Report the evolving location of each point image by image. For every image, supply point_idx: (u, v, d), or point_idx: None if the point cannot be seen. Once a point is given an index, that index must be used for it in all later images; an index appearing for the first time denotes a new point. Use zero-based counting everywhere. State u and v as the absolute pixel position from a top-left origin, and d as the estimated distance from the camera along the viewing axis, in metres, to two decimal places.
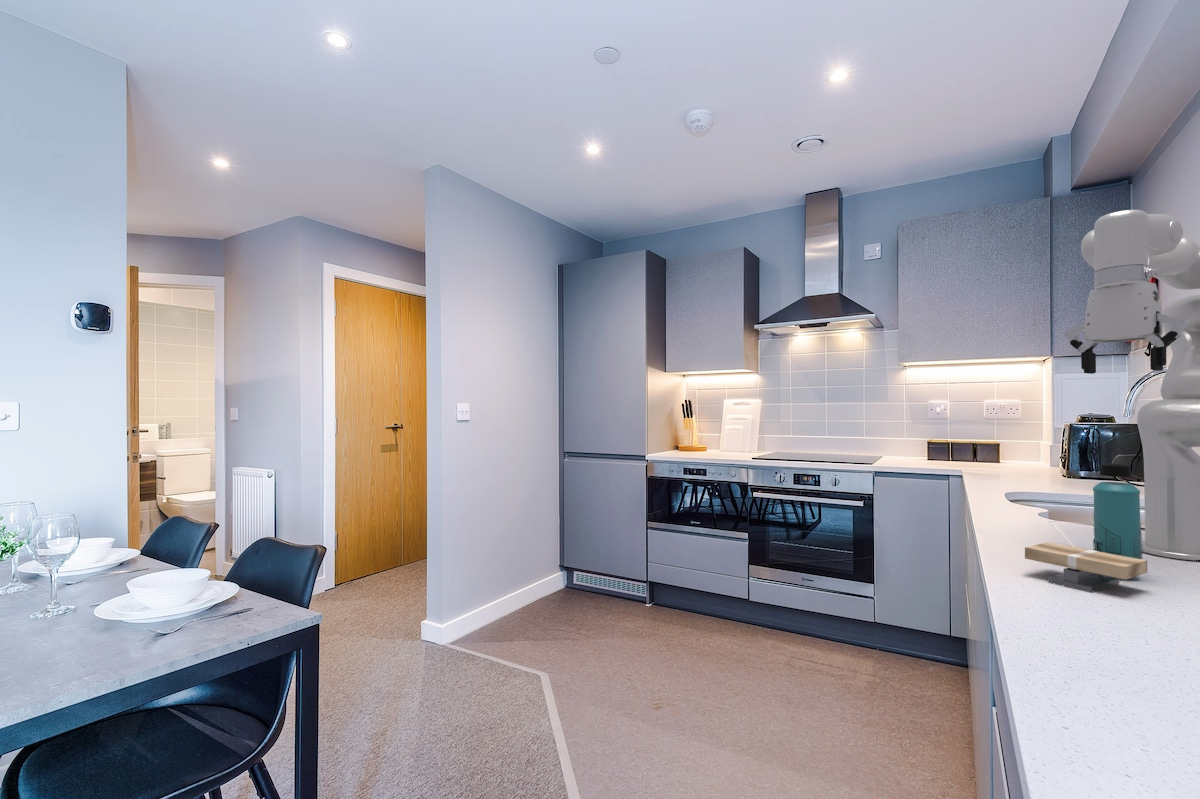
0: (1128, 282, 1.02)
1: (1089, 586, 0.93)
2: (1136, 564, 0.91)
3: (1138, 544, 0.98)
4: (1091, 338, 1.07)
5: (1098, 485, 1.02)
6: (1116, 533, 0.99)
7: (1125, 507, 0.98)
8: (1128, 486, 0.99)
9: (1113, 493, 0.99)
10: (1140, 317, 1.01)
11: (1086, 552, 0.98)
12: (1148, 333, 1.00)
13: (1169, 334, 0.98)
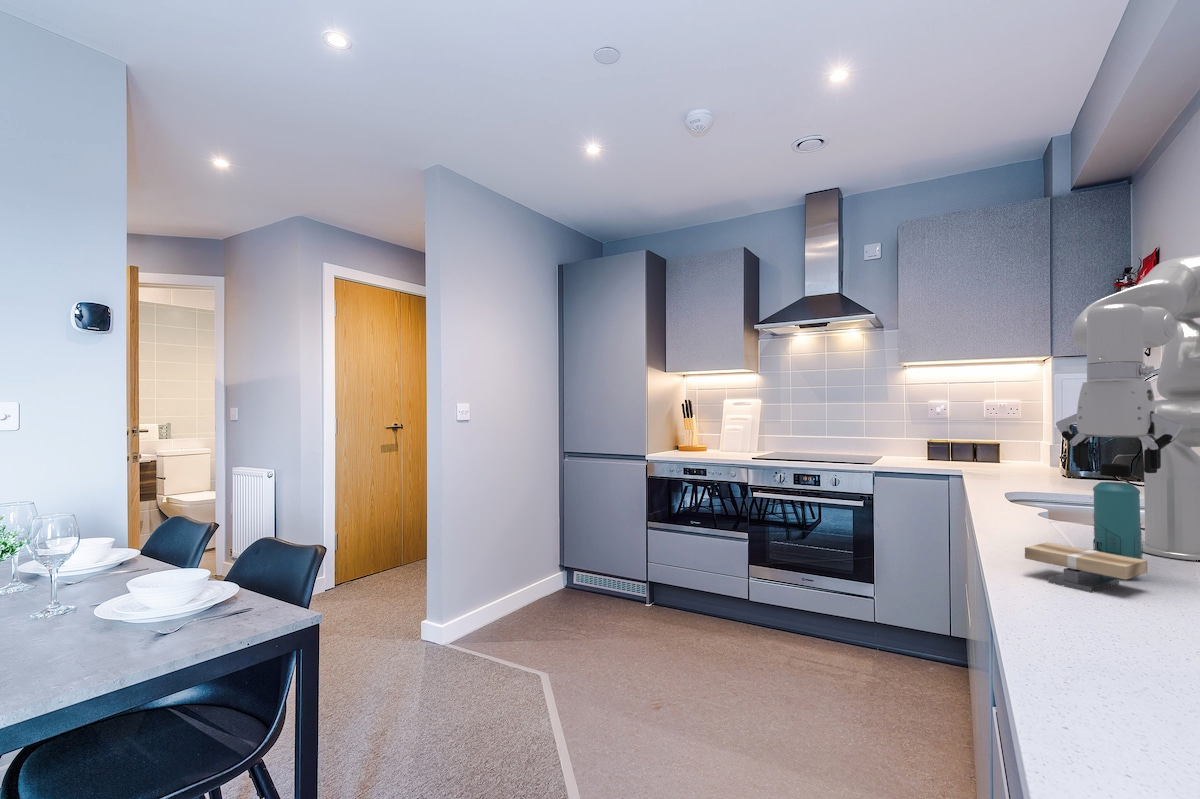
0: (1121, 379, 0.98)
1: (1089, 586, 0.93)
2: (1136, 564, 0.91)
3: (1138, 544, 0.98)
4: (1083, 432, 1.03)
5: (1098, 485, 1.02)
6: (1116, 533, 0.99)
7: (1125, 507, 0.98)
8: (1128, 486, 0.99)
9: (1113, 493, 0.99)
10: (1134, 417, 0.97)
11: (1086, 552, 0.98)
12: (1142, 434, 0.96)
13: (1164, 437, 0.95)
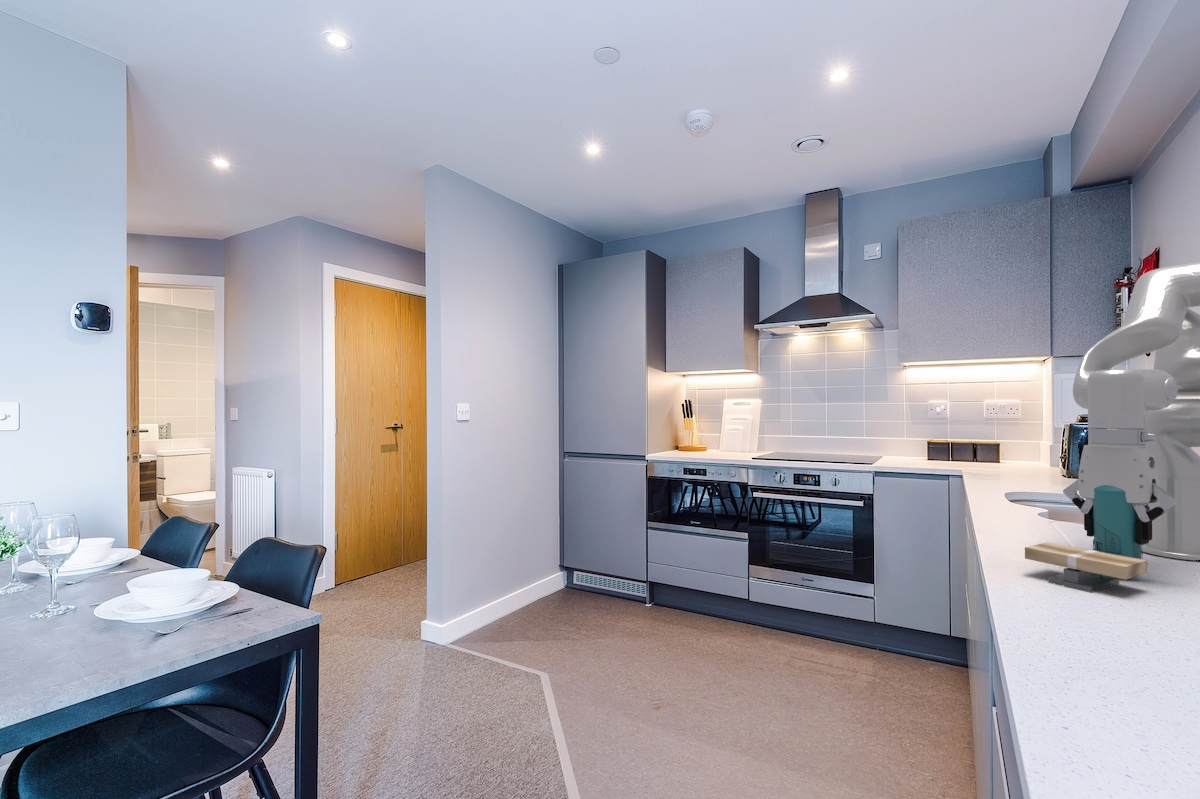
0: (1123, 446, 0.98)
1: (1089, 586, 0.93)
2: (1136, 564, 0.91)
3: (1138, 544, 0.98)
4: (1085, 496, 1.03)
5: None
6: (1116, 533, 0.99)
7: (1124, 506, 0.98)
8: None
9: (1112, 493, 0.99)
10: (1136, 484, 0.97)
11: (1086, 552, 0.98)
12: (1144, 502, 0.96)
13: (1155, 510, 0.96)
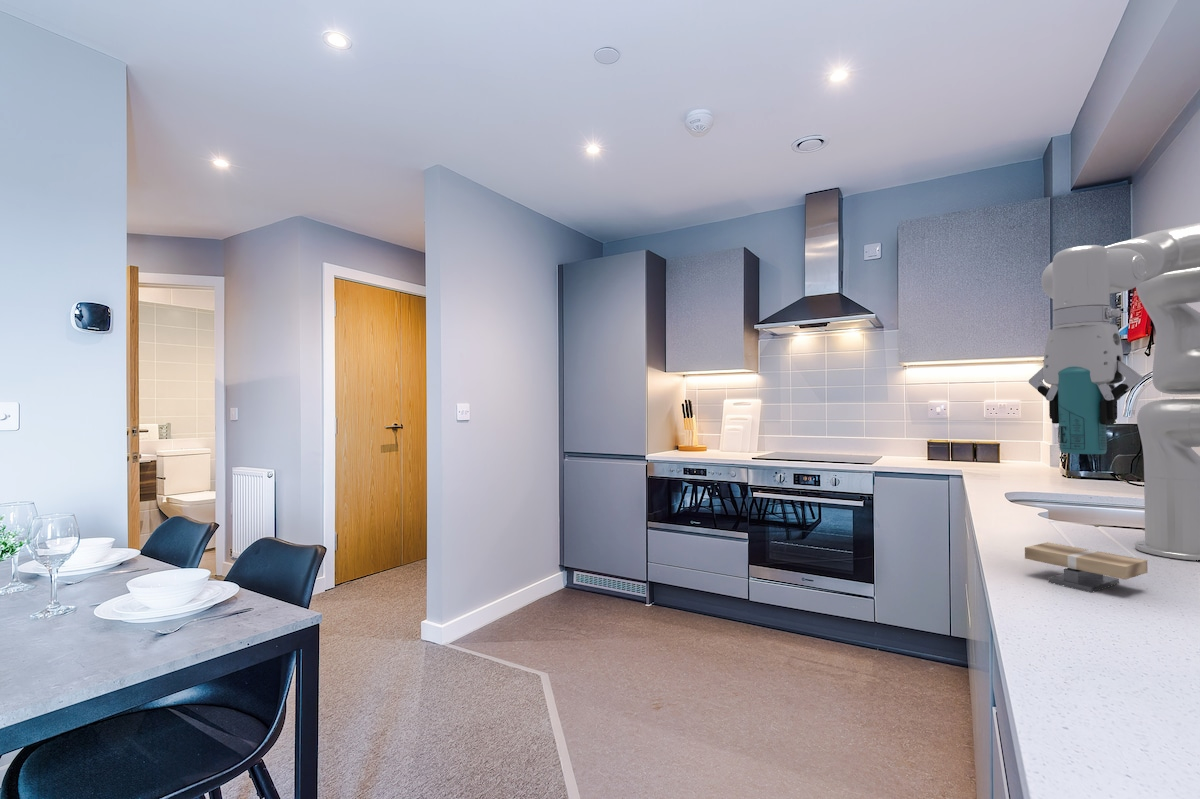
0: (1087, 324, 0.94)
1: (1089, 586, 0.93)
2: (1136, 564, 0.91)
3: (1102, 425, 0.95)
4: (1050, 381, 1.00)
5: None
6: (1080, 414, 0.95)
7: (1088, 386, 0.95)
8: None
9: (1076, 373, 0.96)
10: (1100, 362, 0.94)
11: (1086, 552, 0.98)
12: (1108, 379, 0.93)
13: (1119, 387, 0.92)
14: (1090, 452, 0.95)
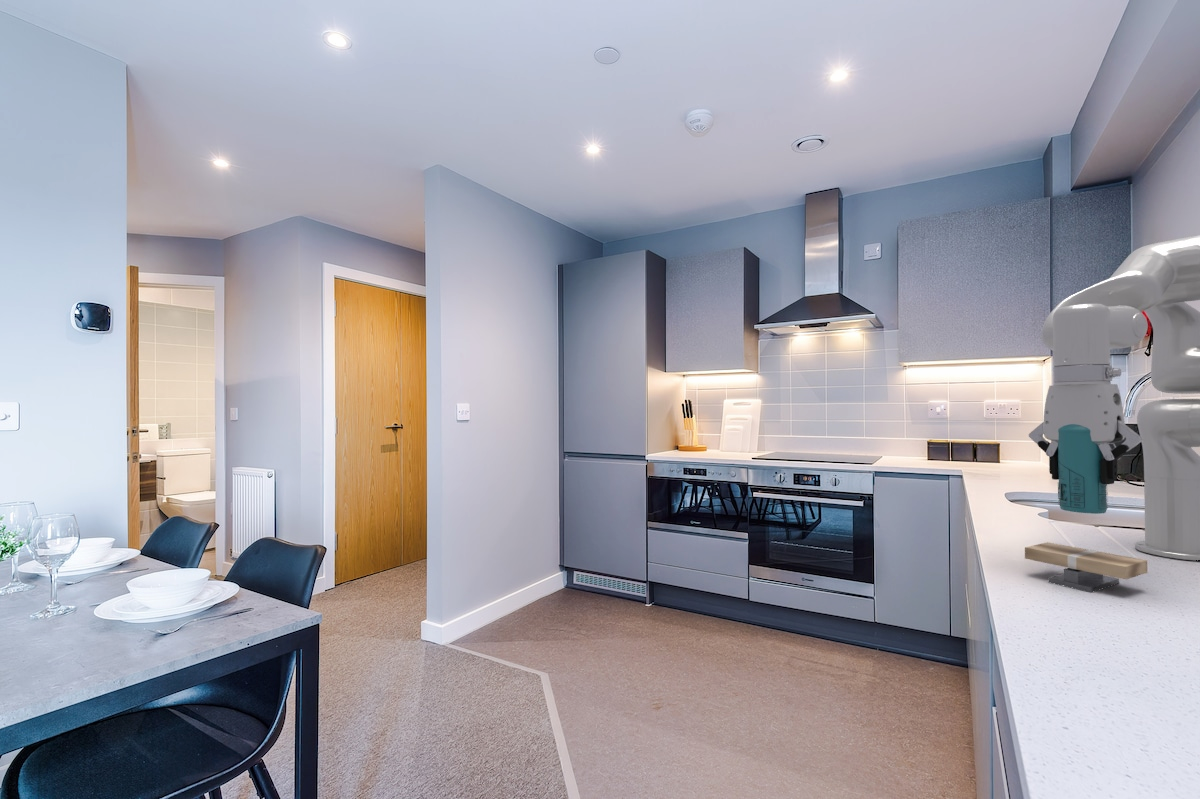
0: (1087, 383, 0.94)
1: (1089, 586, 0.93)
2: (1136, 564, 0.91)
3: (1102, 484, 0.94)
4: (1050, 437, 1.00)
5: None
6: (1080, 473, 0.95)
7: (1089, 445, 0.95)
8: None
9: (1076, 432, 0.95)
10: (1100, 422, 0.93)
11: (1086, 552, 0.98)
12: (1108, 440, 0.93)
13: (1119, 448, 0.92)
14: (1090, 511, 0.94)
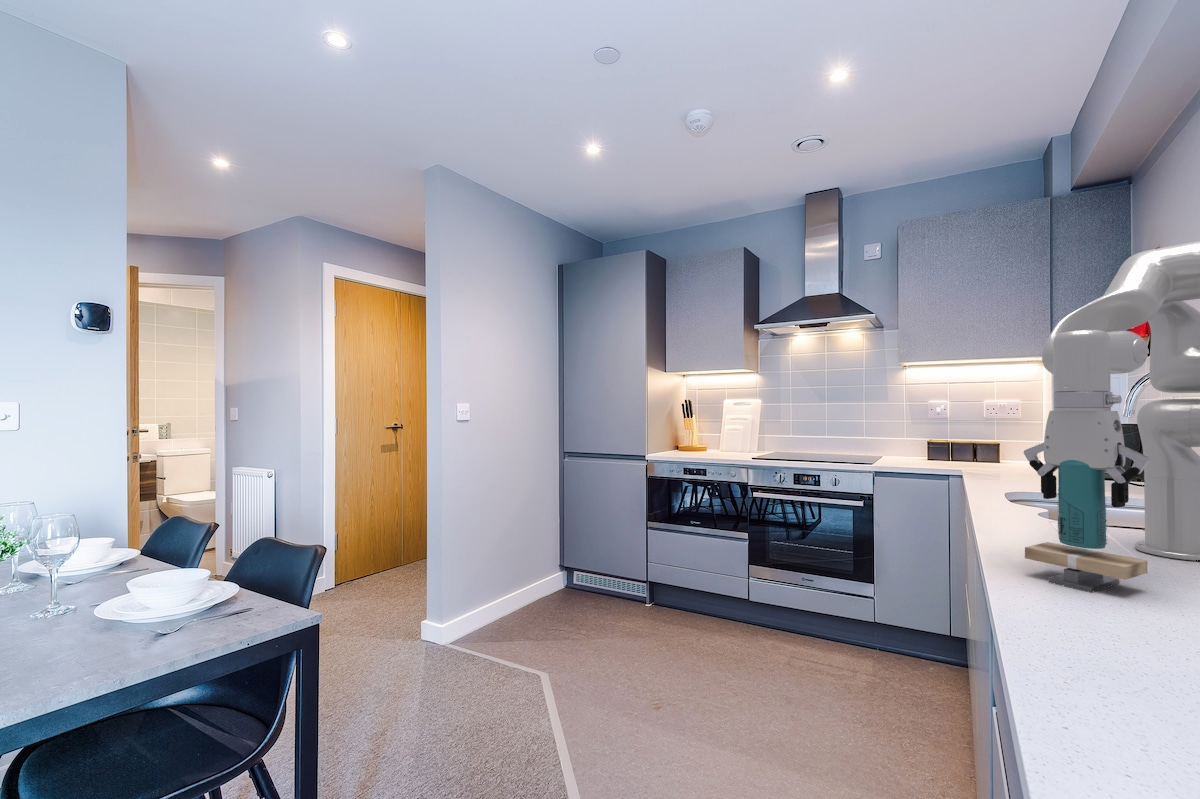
0: (1088, 409, 0.94)
1: (1089, 586, 0.93)
2: (1136, 564, 0.91)
3: (1102, 519, 0.95)
4: (1050, 463, 1.00)
5: None
6: (1079, 508, 0.95)
7: (1088, 480, 0.95)
8: None
9: (1077, 467, 0.96)
10: (1100, 448, 0.93)
11: (1086, 552, 0.98)
12: (1109, 467, 0.93)
13: (1131, 470, 0.91)
14: (1089, 546, 0.95)
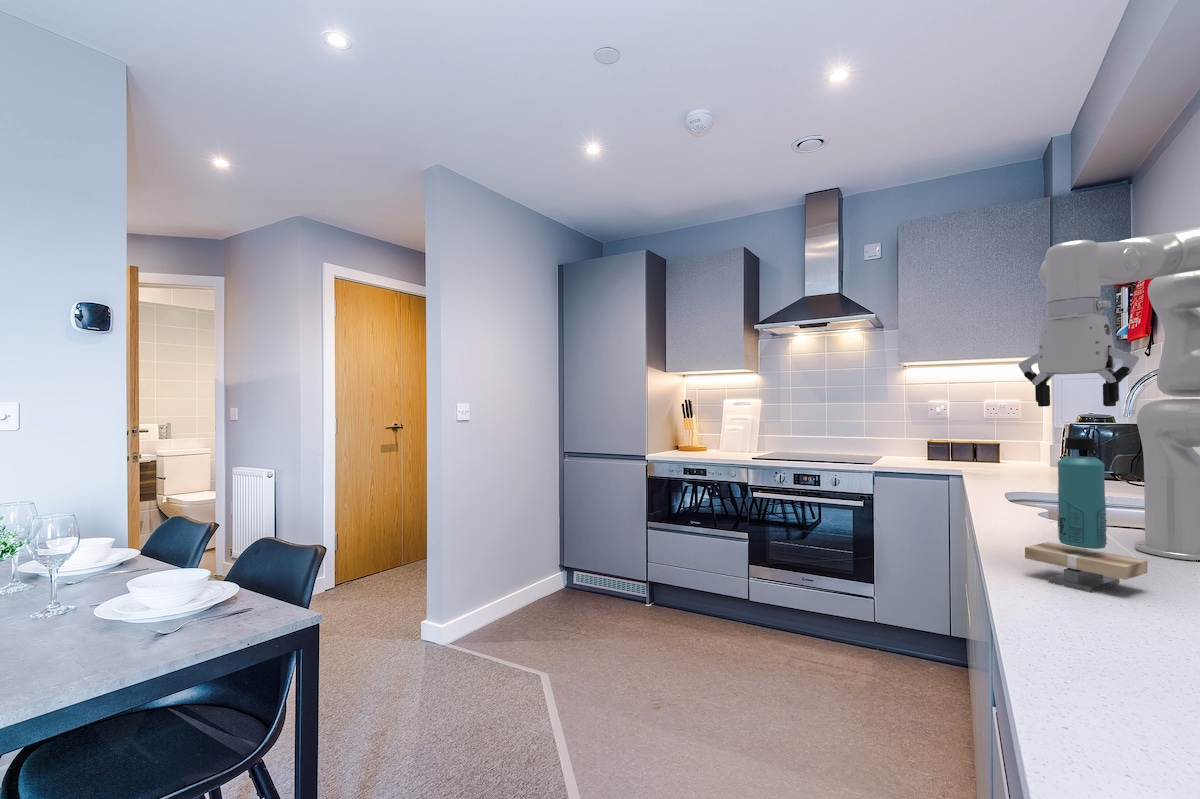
0: (1079, 315, 0.99)
1: (1089, 586, 0.93)
2: (1136, 564, 0.91)
3: (1102, 519, 0.95)
4: (1044, 371, 1.04)
5: (1062, 459, 0.99)
6: (1079, 508, 0.95)
7: (1088, 480, 0.95)
8: (1092, 459, 0.95)
9: (1076, 467, 0.96)
10: (1092, 352, 0.98)
11: (1086, 552, 0.98)
12: (1100, 368, 0.97)
13: (1121, 370, 0.96)
14: (1089, 546, 0.95)
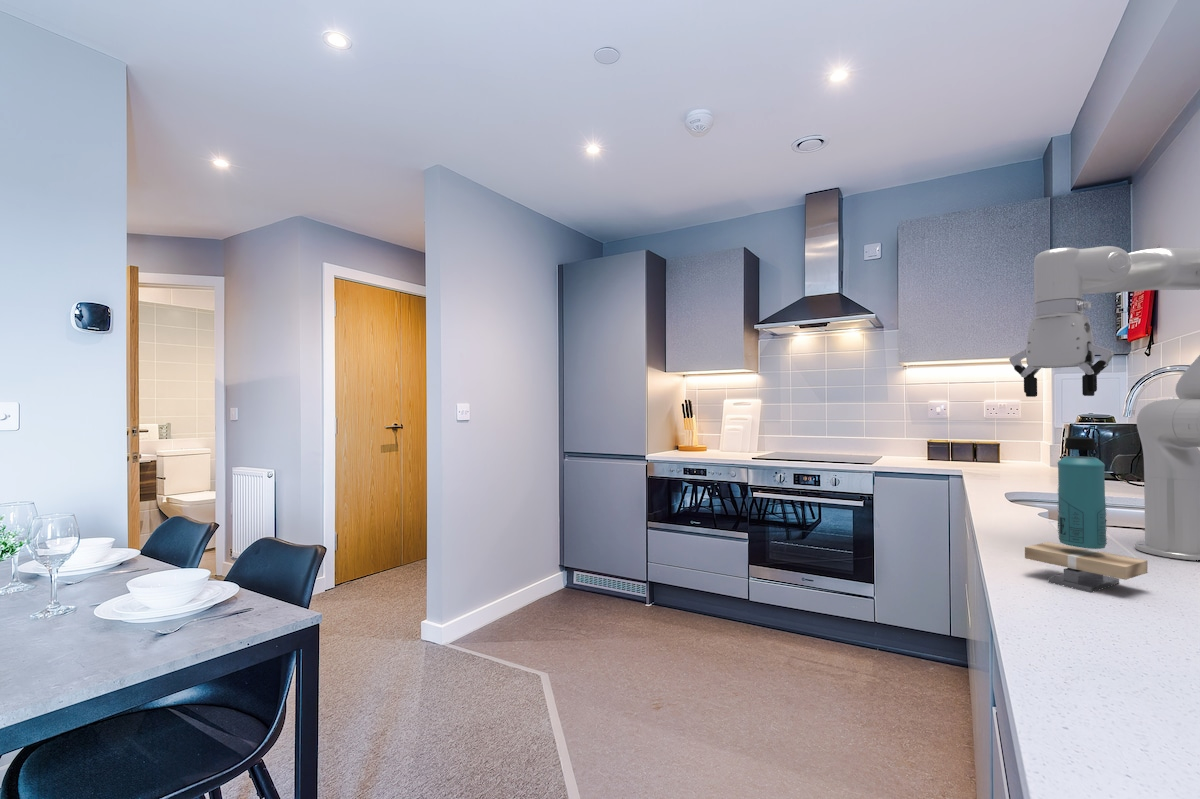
0: (1062, 314, 1.11)
1: (1089, 586, 0.93)
2: (1136, 564, 0.91)
3: (1102, 519, 0.95)
4: (1032, 364, 1.16)
5: (1062, 459, 0.99)
6: (1079, 508, 0.95)
7: (1088, 480, 0.95)
8: (1092, 459, 0.95)
9: (1076, 467, 0.96)
10: (1073, 347, 1.10)
11: (1086, 552, 0.98)
12: (1080, 362, 1.09)
13: (1098, 363, 1.07)
14: (1089, 546, 0.95)
